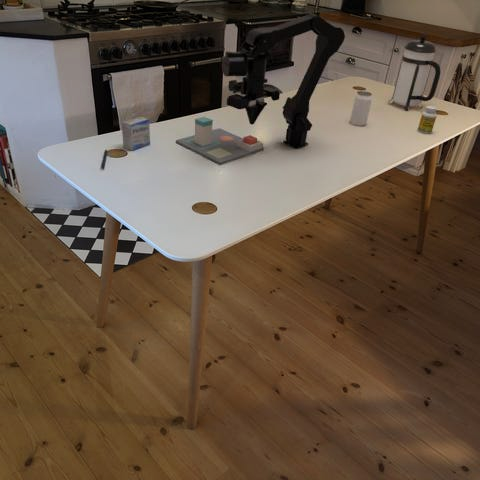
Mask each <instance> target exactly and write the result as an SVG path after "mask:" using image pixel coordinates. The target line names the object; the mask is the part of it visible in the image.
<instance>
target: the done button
mask: <svg viewBox="0 0 480 480" xmlns="http://www.w3.org/2000/svg"><path fill="white" fill-rule="evenodd" d="M257 140H258V138H257V137H256V136H253V135H251V134H250V135H246V136H243V142H245V143H247V144H249V145H251V144H254V143H257Z"/></svg>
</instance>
